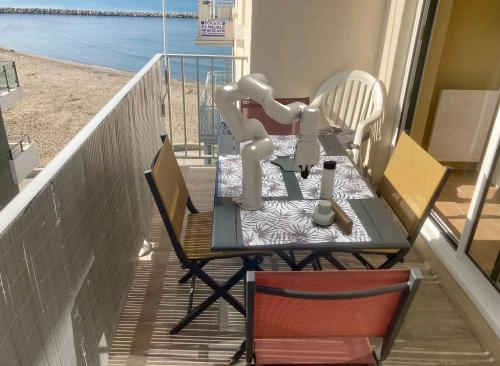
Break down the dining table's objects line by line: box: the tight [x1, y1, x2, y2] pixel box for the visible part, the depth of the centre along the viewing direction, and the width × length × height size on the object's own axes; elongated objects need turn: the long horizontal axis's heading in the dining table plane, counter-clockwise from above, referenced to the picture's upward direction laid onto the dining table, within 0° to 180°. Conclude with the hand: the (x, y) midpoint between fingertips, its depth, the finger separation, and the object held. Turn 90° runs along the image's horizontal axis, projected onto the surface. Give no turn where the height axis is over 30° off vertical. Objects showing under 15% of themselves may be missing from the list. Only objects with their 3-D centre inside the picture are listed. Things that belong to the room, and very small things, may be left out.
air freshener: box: [311, 199, 335, 226], centre depth 186 cm, size 11×8×10 cm
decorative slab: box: [270, 157, 315, 176], centre depth 246 cm, size 26×24×2 cm
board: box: [326, 197, 354, 235], centre depth 188 cm, size 3×22×6 cm, turn 14°
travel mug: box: [319, 160, 337, 200], centre depth 206 cm, size 6×7×20 cm
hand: (304, 178), depth 176 cm, fingers closed
